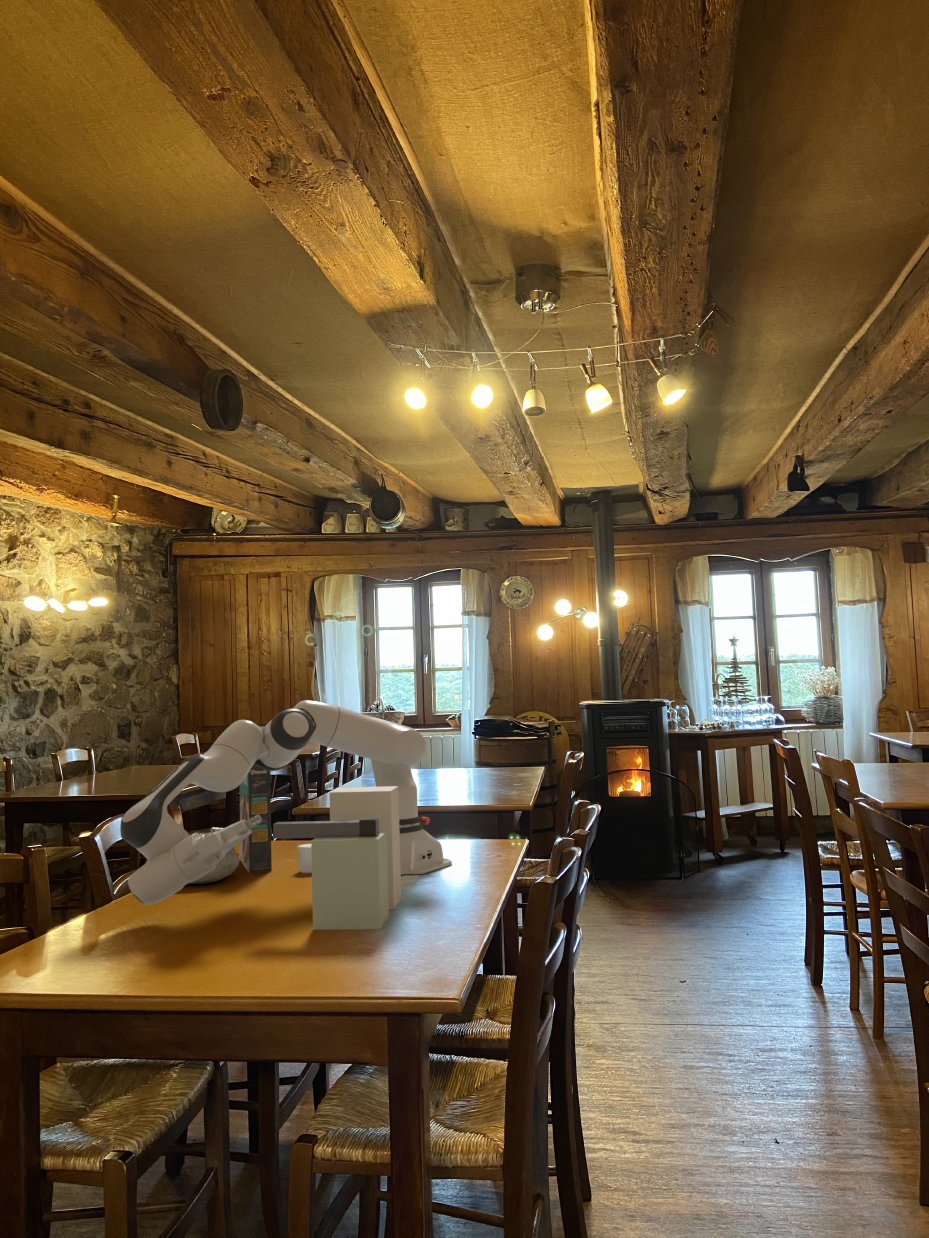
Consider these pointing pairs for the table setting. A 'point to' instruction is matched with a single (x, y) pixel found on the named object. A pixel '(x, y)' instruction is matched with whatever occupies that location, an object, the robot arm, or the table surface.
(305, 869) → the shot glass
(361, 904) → the low post
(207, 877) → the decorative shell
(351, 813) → the tall post
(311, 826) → the metal bar
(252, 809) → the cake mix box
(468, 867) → the table surface
